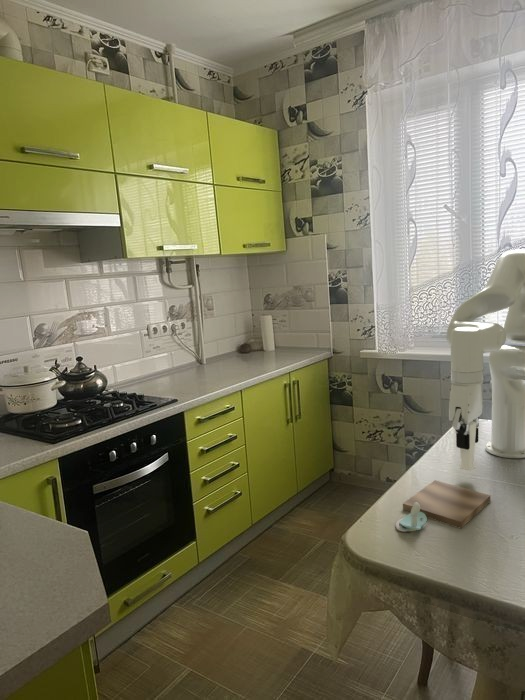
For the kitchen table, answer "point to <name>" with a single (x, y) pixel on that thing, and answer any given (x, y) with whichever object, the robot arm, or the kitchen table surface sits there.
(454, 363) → the robot arm
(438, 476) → the kitchen table surface
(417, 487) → the kitchen table surface
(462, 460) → the white tall faceted piece
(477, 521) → the kitchen table surface
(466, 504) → the walnut board
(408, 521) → the pacifier
